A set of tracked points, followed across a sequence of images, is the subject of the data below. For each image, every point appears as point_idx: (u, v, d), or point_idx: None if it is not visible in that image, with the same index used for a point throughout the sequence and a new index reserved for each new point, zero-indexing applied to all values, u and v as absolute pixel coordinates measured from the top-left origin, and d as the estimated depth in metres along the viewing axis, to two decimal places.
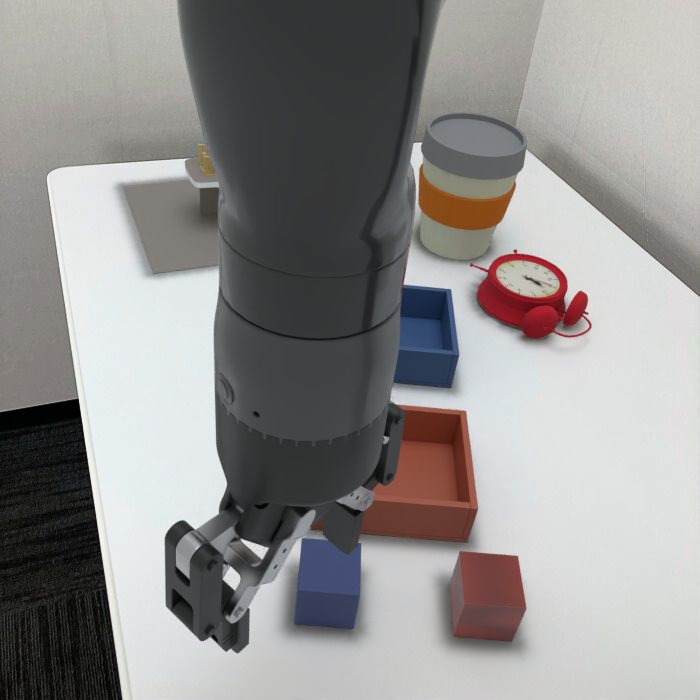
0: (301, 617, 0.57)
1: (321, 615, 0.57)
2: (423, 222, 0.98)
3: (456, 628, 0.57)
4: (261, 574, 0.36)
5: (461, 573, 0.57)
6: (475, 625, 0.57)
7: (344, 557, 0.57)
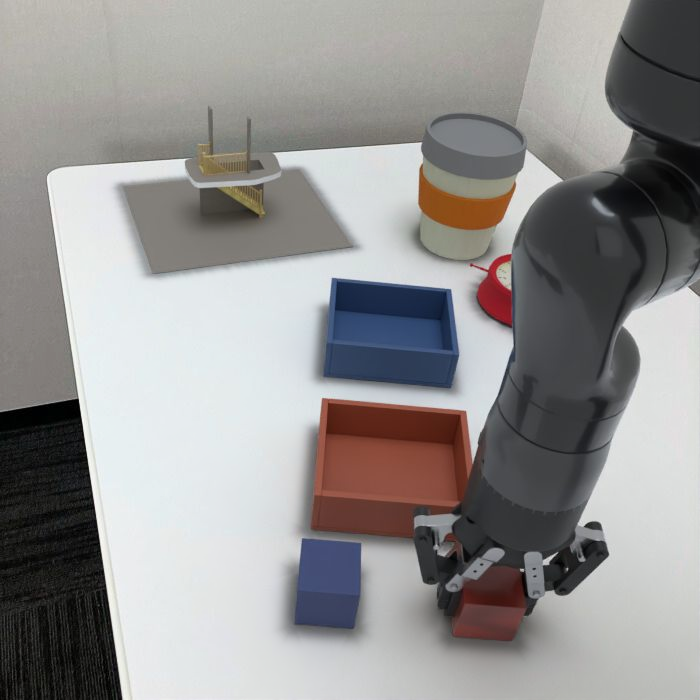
0: (301, 617, 0.57)
1: (321, 615, 0.57)
2: (423, 222, 0.98)
3: (456, 628, 0.57)
4: (464, 570, 0.54)
5: None
6: (475, 625, 0.57)
7: (344, 557, 0.57)
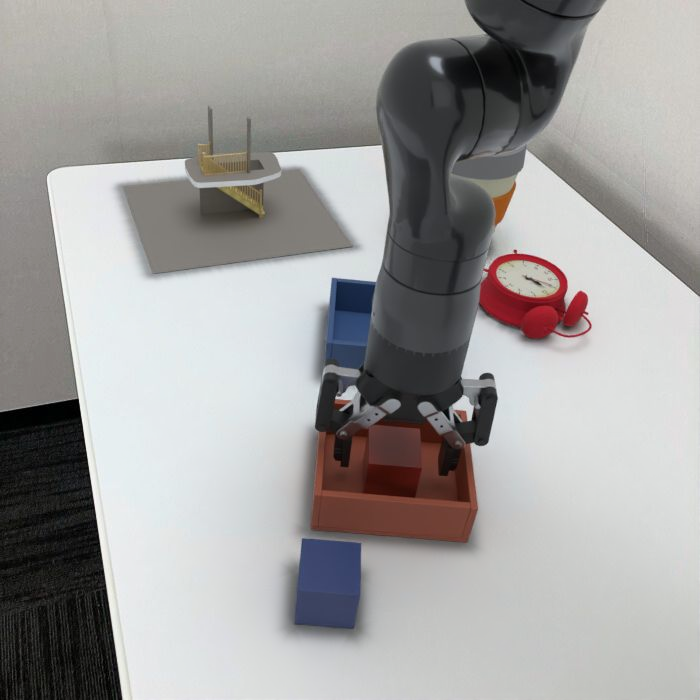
0: (301, 617, 0.57)
1: (321, 615, 0.57)
2: None
3: (364, 489, 0.66)
4: (359, 417, 0.61)
5: (368, 441, 0.66)
6: (380, 485, 0.66)
7: (344, 557, 0.57)
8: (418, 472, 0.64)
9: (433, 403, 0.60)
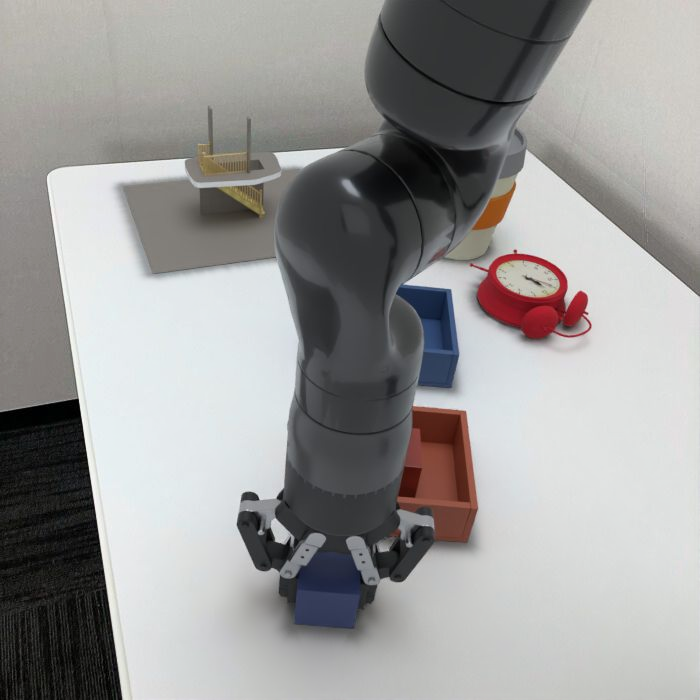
0: (301, 617, 0.57)
1: (321, 615, 0.57)
2: None
3: None
4: (292, 556, 0.53)
5: None
6: None
7: (344, 557, 0.57)
8: (418, 472, 0.64)
9: (364, 536, 0.52)
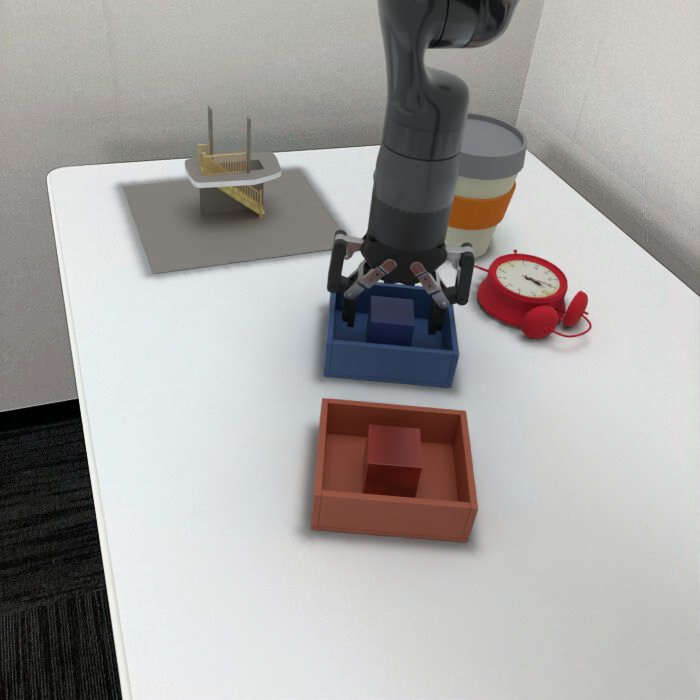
0: None
1: None
2: None
3: (364, 489, 0.66)
4: (363, 278, 0.76)
5: (368, 441, 0.66)
6: (380, 485, 0.66)
7: (402, 306, 0.81)
8: (418, 472, 0.64)
9: (422, 264, 0.74)
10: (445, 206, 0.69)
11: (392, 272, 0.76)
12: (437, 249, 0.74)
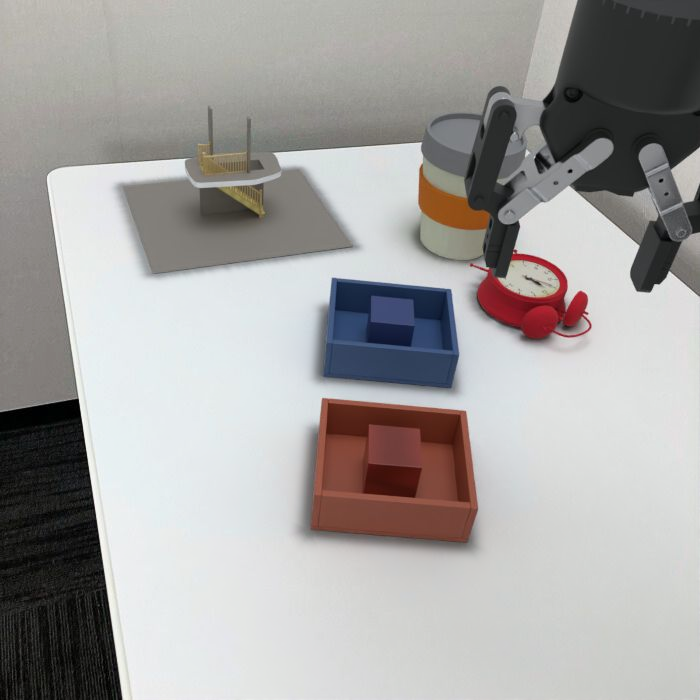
0: None
1: None
2: (423, 222, 0.98)
3: (364, 489, 0.66)
4: (541, 179, 0.40)
5: (368, 441, 0.66)
6: (380, 485, 0.66)
7: (402, 306, 0.81)
8: (418, 472, 0.64)
9: (662, 149, 0.39)
10: None
11: (597, 168, 0.40)
12: (694, 119, 0.38)
